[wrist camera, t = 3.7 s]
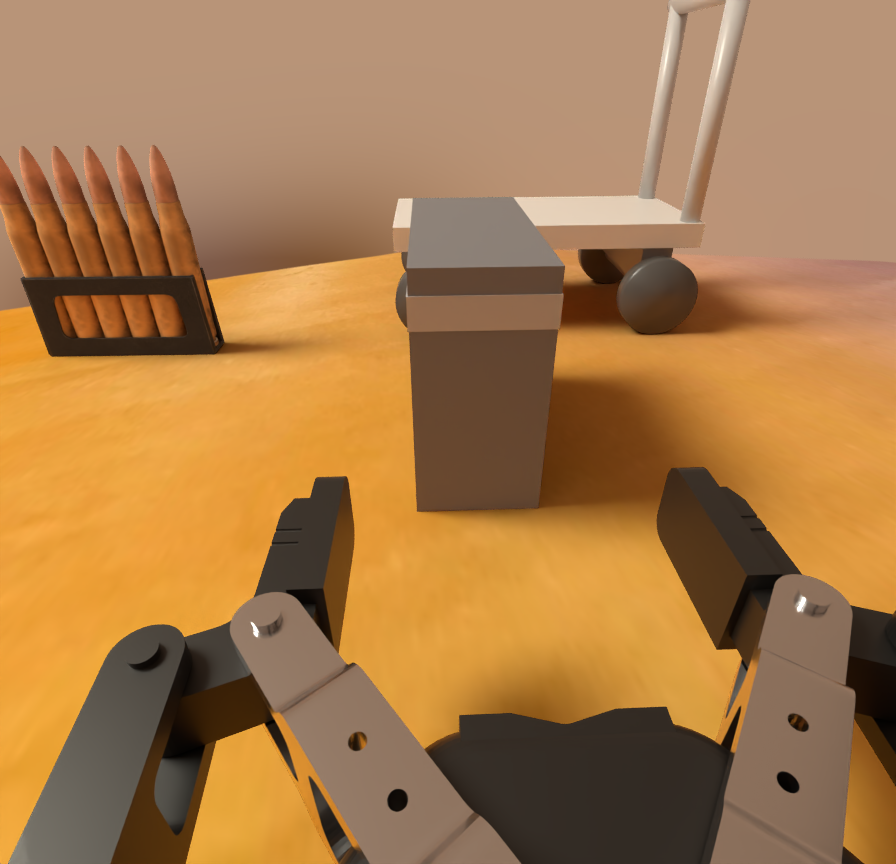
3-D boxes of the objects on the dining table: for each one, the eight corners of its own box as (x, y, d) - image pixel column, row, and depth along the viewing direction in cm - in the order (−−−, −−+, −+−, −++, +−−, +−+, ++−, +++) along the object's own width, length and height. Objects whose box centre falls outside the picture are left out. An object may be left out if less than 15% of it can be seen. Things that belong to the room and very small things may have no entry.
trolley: (631, 278, 49) (680, -4, 38) (687, 333, 38) (777, -35, 28) (403, 282, 48) (389, -4, 37) (397, 338, 38) (375, -35, 27)
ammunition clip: (49, 356, 36) (-41, 148, 29) (65, 345, 37) (-17, 144, 31) (216, 354, 36) (163, 146, 29) (225, 342, 37) (177, 143, 31)
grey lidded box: (503, 376, 33) (514, 197, 28) (539, 509, 23) (567, 266, 17) (418, 378, 33) (411, 198, 27) (415, 513, 23) (404, 268, 17)
